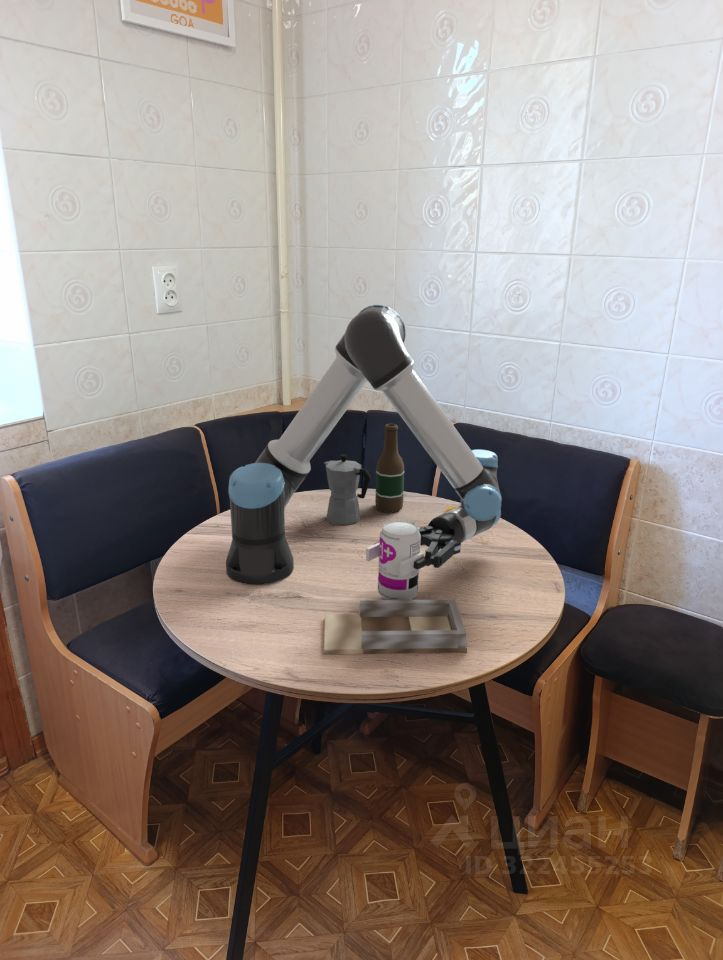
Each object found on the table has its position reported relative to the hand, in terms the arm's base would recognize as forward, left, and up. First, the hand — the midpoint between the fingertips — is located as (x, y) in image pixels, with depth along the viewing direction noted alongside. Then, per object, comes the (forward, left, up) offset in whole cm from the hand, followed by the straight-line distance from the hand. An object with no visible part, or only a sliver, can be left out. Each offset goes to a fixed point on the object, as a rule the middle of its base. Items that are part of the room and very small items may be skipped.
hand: (384, 562), depth 131 cm
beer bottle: (+5, +53, -11) cm, 55 cm away
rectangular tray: (+1, -10, -10) cm, 14 cm away
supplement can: (+3, +3, -9) cm, 10 cm away
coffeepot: (-7, +45, -11) cm, 47 cm away
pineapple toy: (+21, +39, -11) cm, 46 cm away
